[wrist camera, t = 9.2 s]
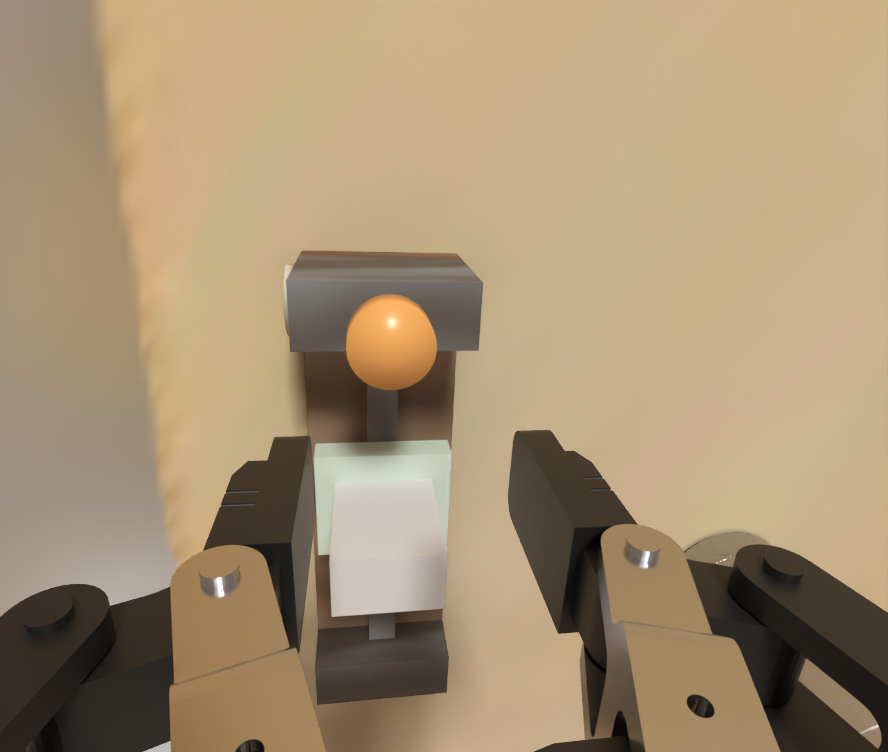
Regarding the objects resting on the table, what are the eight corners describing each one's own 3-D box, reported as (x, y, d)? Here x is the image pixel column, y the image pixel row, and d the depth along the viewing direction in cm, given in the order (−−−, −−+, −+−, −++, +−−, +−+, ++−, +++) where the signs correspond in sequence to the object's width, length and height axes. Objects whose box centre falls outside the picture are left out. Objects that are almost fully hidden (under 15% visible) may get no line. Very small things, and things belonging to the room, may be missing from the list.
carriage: (315, 443, 30) (302, 532, 23) (447, 439, 31) (472, 524, 24) (320, 537, 32) (309, 644, 25) (442, 531, 33) (465, 632, 26)
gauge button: (345, 293, 21) (344, 304, 19) (433, 294, 21) (438, 304, 20) (347, 375, 22) (346, 391, 20) (430, 374, 22) (435, 389, 21)
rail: (295, 248, 29) (277, 278, 22) (456, 251, 30) (483, 280, 24) (317, 645, 39) (309, 744, 32) (437, 636, 40) (452, 729, 34)
